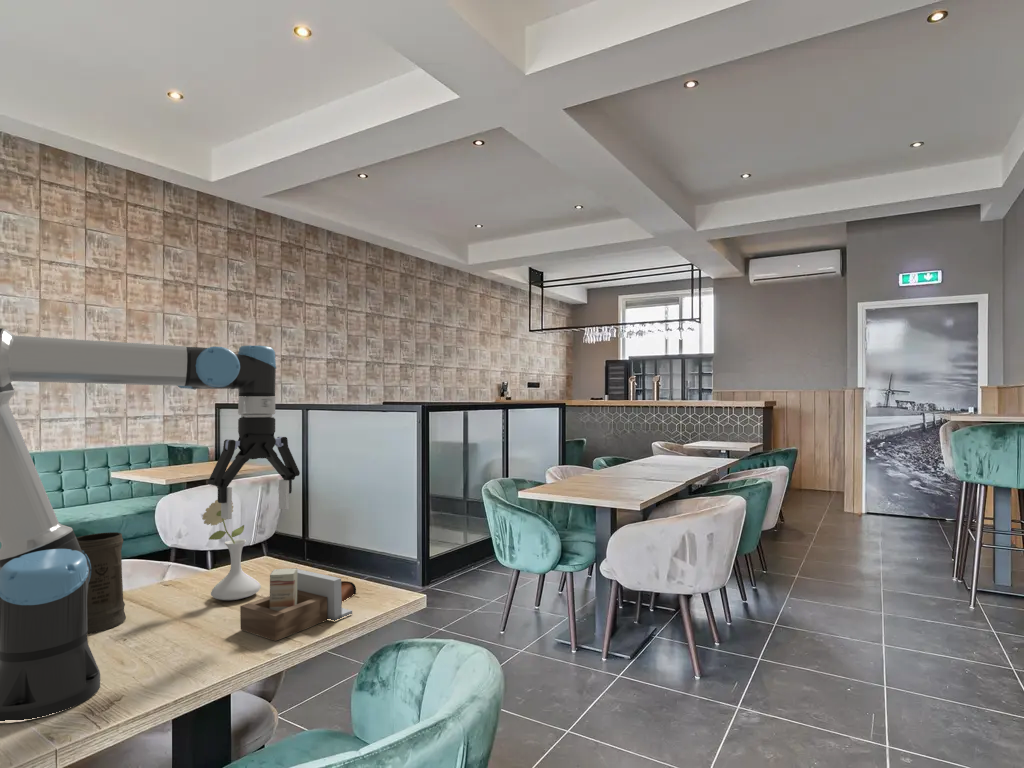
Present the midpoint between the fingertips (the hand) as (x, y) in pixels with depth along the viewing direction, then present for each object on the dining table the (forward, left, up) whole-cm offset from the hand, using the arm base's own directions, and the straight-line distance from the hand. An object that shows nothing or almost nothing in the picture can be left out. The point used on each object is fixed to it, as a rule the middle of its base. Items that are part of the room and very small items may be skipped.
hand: (256, 513), depth 130 cm
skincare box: (+3, -6, -23) cm, 23 cm away
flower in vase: (+8, +22, -24) cm, 34 cm away
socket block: (+3, -6, -24) cm, 25 cm away
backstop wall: (+12, -6, -24) cm, 28 cm away
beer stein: (-18, +34, -24) cm, 46 cm away
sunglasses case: (+18, +3, -25) cm, 31 cm away
